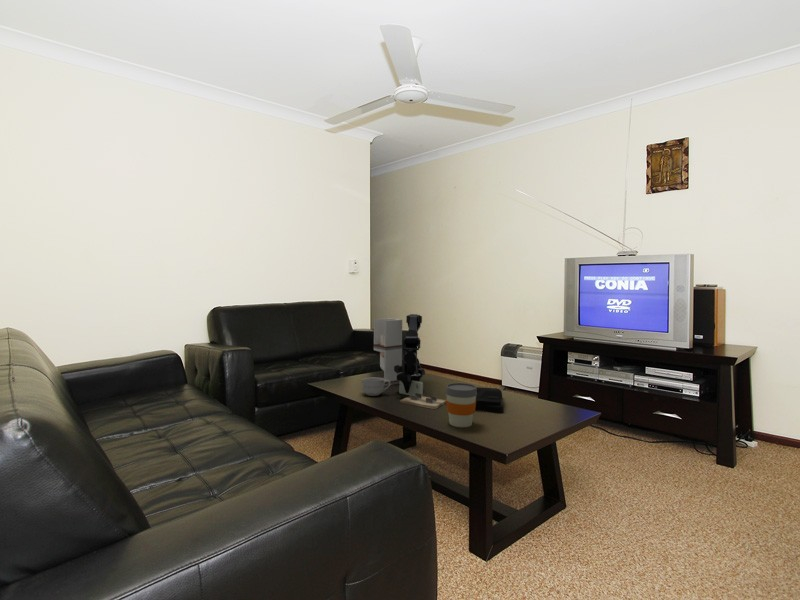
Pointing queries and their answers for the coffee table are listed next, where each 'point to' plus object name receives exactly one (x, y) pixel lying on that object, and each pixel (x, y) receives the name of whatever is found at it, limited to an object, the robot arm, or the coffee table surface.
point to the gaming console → (489, 400)
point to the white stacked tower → (388, 346)
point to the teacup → (374, 386)
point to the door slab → (412, 388)
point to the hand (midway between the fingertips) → (410, 391)
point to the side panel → (423, 401)
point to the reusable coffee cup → (461, 403)
